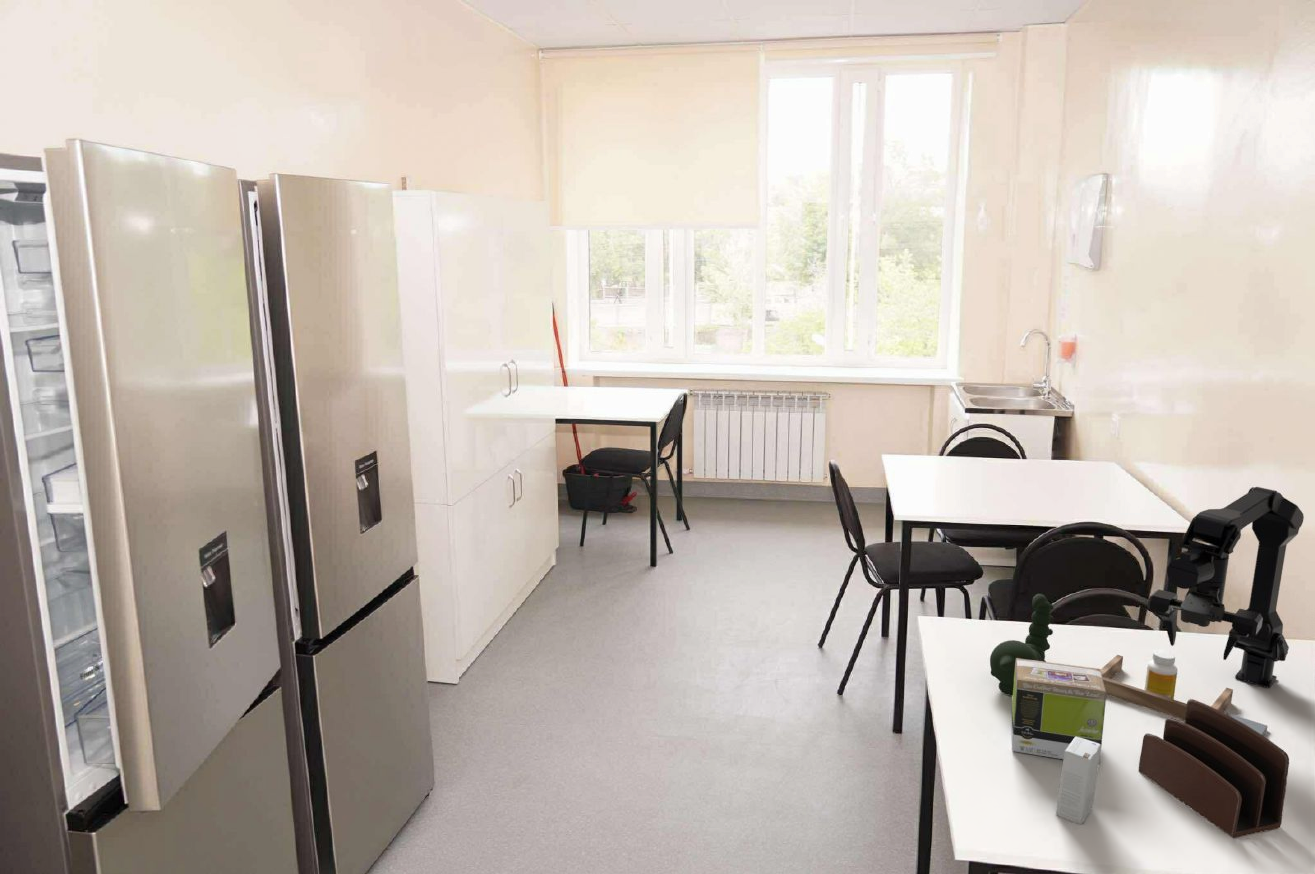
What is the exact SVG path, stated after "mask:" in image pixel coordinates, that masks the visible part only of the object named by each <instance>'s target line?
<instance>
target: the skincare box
mask: <svg viewBox="0 0 1315 874" xmlns="http://www.w3.org/2000/svg"><path fill="white" fill-rule="evenodd" d="M1100 751H1101V752H1102V746H1101V744H1098V743H1096V742H1092V741H1089V740H1086V739H1083V738H1080V737H1075V738H1074V739H1073V740H1072V742H1071V743H1070V745H1069V746H1068V747H1067V749H1066V750H1065V752H1064V759H1062V761H1063V762H1062V767H1061V774H1060V781H1059V790H1058V796H1057V802H1056V809H1055V815H1057V816H1059V817H1060V818H1063V819H1065V820H1068V821H1070V822H1074V823H1076V824H1079V825H1083V823H1084V821H1085V819H1086V818H1087V816H1088V815H1089V813H1090V812H1091V811H1092V809H1093V806H1094V800H1095V793H1096V788H1097V787H1096V786H1097V779H1098V770H1099V766H1100V764H1099V759H1100V760H1101V755H1100Z"/></svg>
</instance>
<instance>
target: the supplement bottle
mask: <svg viewBox="0 0 1315 874" xmlns="http://www.w3.org/2000/svg"><path fill="white" fill-rule="evenodd" d="M1175 662H1176V655H1175V654H1173V653H1172V652H1171V651H1167V650H1161V649H1158V650H1154V651H1153V653H1152V660H1150V661H1149V662H1148V664H1147V668H1146V676H1145V677H1146V678H1145V685H1144V690H1145V691H1149V692H1152V693H1155V694H1158V695H1161V696H1164V697H1167V698H1170V699H1174V700H1175V692H1176V684H1177V678H1178V668H1177V666H1176V665H1175Z"/></svg>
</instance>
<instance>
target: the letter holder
mask: <svg viewBox="0 0 1315 874" xmlns="http://www.w3.org/2000/svg"><path fill="white" fill-rule="evenodd" d="M1186 704H1187V706H1186V715H1185V720H1184V721H1183V720H1180V719H1178V718H1176V717H1172V716H1171V717H1167V718H1166V719H1165V720H1164V728H1163V735H1162V736H1163V737H1162V738H1161V737H1159V736H1157V735H1154V734H1153V733H1152V734H1151V733H1145V734H1144V735H1143V738H1142V743H1141V744H1142V745H1141V751H1140V757H1139V762H1138V772H1139V773H1141V774H1143V775H1144V776H1145V777H1147V778H1148V779H1149V780H1151V781H1152V782H1154V783H1155V784H1156V785H1158V786H1159V787H1160V788H1162V789H1164V790H1165V791H1166V792H1168V793H1169V794H1171V796H1173V797H1175V798H1176V799H1177V800H1179V801H1180V802H1182V803H1183V804H1185V805H1186V806H1188V807H1189V808H1190V809H1192V810H1193V811H1194V812H1196V814H1199V815H1200V816H1201V817H1202V818H1205V819H1206V820H1207V821H1209V822H1210V823H1211V824H1213V825H1214V826H1216V828H1218V829H1220V830H1222V831H1223V832H1224V833H1226V834H1227V835H1228V836H1230V837H1231V838H1233V839H1235V838H1240V837H1244V836H1249V835H1253V834H1257V833H1262V832H1266V831H1272V830H1276V829H1280V828H1281V825H1282V822H1283V811H1284V806H1285V805H1284V803H1285V797H1286V791H1287V783H1288V782H1287V781H1288V774H1289V767H1290V766H1289V765H1290V757H1289V755H1288V753H1287V752H1286V751H1285V750H1284V749H1282V748H1281V747H1280V746H1278V745H1277V744H1276V743H1274V742H1273V741H1271V740H1270V739H1269V738H1267V737H1266V736H1265V735H1261V734H1260V733H1258V732H1256V731H1255V730H1253V729H1252V728H1250V727H1248V726H1247V725H1245V724H1243V723H1242V722H1240V721H1238V720H1236V719H1234V718H1232V717H1231V716H1229V715H1227V714H1226V712H1224V713H1223V712H1221V711H1219V710H1217V709H1215V708H1213V707H1211V706H1210V705H1208V704H1206V703H1204V702H1201V701H1198V700H1197V699H1192V698H1190V699H1188V700H1187V702H1186Z"/></svg>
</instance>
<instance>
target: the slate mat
mask: <svg viewBox="0 0 1315 874" xmlns="http://www.w3.org/2000/svg"><path fill="white" fill-rule="evenodd" d="M1225 714H1227V715H1229V716H1231V717H1232V718H1234V719H1236V720H1238V721H1240V722H1242V723H1243V724H1245V725H1247V726H1248V727H1250V728H1252V729H1253V730H1255V731H1256V732H1258V733H1260V734H1261V735H1263V736H1265V734H1266V732H1267V731H1268V725H1266V724H1263V723H1261V722H1258V721H1257V722H1256V721H1254V720H1252V719H1251V720H1250V719H1248V718H1244V717H1241V716H1238V715H1235V714H1233V713H1230V712H1225Z"/></svg>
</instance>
